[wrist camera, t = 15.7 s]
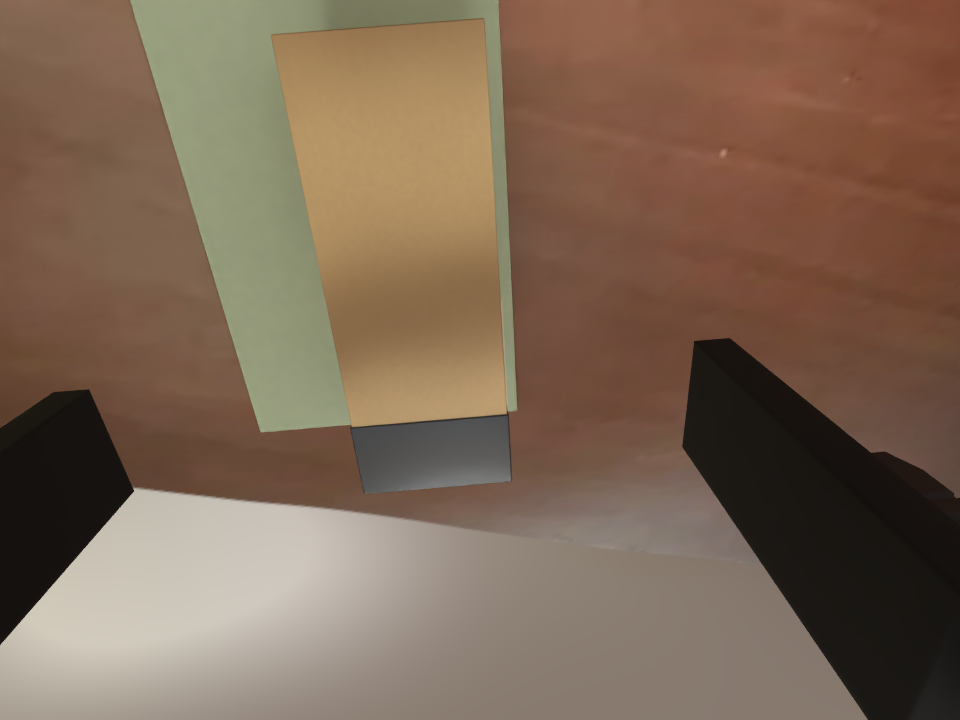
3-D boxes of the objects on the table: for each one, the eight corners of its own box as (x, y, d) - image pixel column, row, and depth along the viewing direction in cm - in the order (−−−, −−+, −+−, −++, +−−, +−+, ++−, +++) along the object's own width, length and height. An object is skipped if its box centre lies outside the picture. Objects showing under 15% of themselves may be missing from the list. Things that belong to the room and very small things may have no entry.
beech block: (325, 60, 21) (267, 33, 14) (476, 48, 21) (486, 17, 14) (384, 407, 28) (363, 494, 21) (498, 397, 28) (512, 481, 21)
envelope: (516, 407, 29) (517, 411, 28) (262, 428, 28) (259, 433, 28) (489, -180, 18) (490, -187, 18) (89, -151, 18) (80, -158, 18)
